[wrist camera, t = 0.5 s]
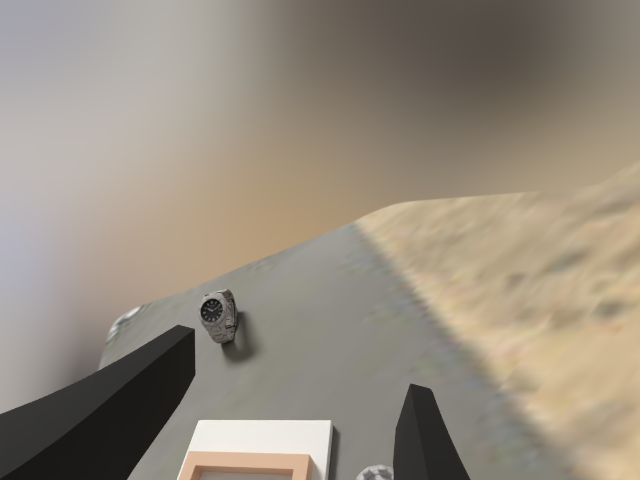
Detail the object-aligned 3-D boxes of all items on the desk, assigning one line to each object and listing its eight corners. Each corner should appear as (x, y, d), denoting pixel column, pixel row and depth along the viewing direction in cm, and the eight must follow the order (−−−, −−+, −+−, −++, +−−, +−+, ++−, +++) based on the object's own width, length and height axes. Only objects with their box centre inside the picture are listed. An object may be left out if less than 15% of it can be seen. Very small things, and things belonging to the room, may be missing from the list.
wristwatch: (212, 352, 40) (190, 322, 37) (220, 308, 45) (201, 279, 42) (243, 344, 39) (223, 314, 36) (248, 301, 44) (231, 271, 41)
